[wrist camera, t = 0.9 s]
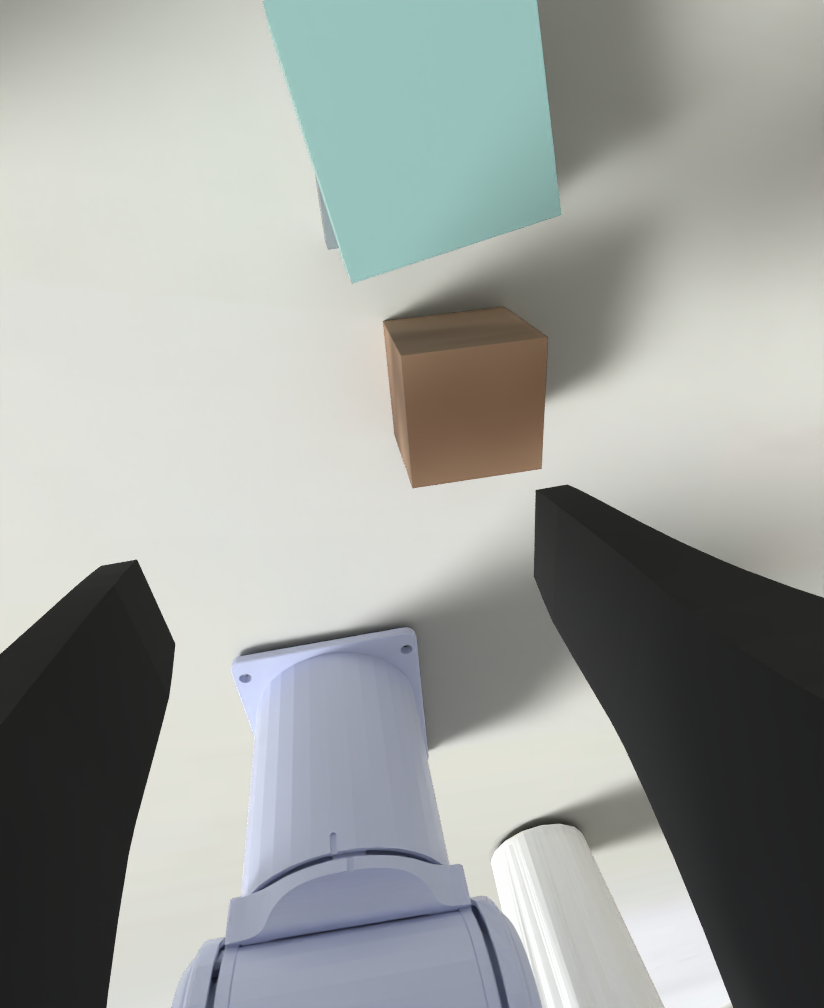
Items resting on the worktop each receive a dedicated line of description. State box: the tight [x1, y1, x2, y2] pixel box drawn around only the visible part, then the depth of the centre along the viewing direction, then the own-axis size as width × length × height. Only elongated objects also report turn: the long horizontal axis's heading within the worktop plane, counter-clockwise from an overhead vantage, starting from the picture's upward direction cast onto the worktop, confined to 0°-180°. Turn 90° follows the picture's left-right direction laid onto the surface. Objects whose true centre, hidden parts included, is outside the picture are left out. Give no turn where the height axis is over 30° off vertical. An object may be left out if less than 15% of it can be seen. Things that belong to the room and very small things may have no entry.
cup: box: [491, 824, 665, 1008], centre depth 31 cm, size 8×8×14 cm
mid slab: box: [263, 0, 561, 283], centre depth 12 cm, size 5×5×2 cm
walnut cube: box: [383, 307, 548, 488], centre depth 18 cm, size 4×4×4 cm
